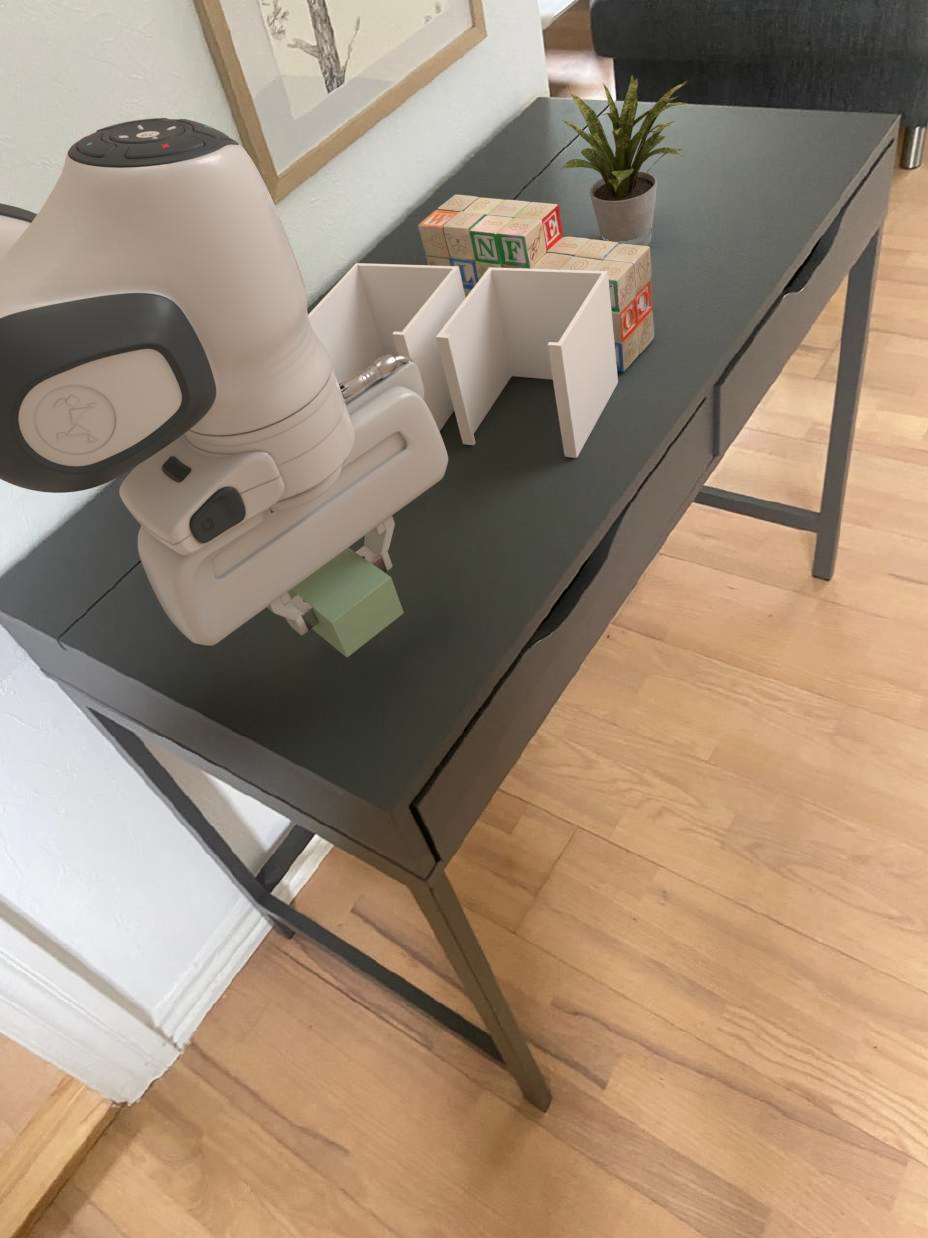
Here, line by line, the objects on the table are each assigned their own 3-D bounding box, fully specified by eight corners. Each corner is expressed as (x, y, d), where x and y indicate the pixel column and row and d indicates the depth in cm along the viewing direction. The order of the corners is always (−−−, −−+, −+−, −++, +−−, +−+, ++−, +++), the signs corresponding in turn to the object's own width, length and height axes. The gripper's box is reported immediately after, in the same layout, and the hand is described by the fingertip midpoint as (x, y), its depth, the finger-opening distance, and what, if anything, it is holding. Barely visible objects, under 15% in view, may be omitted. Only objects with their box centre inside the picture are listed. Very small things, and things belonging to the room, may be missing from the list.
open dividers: (618, 382, 84) (607, 271, 76) (576, 458, 78) (560, 345, 70) (386, 362, 95) (356, 262, 87) (334, 428, 89) (296, 327, 81)
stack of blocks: (656, 338, 88) (649, 212, 79) (624, 374, 85) (613, 248, 76) (478, 305, 99) (454, 191, 90) (444, 336, 96) (415, 221, 87)
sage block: (347, 658, 60) (331, 622, 57) (277, 600, 65) (260, 566, 62) (404, 613, 62) (391, 577, 59) (332, 560, 67) (317, 525, 64)
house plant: (709, 265, 94) (709, 95, 83) (575, 290, 96) (556, 128, 85) (687, 205, 104) (684, 45, 92) (566, 229, 106) (547, 75, 94)
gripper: (378, 325, 57) (426, 495, 67) (91, 506, 50) (194, 665, 60) (443, 355, 53) (485, 530, 63) (144, 554, 46) (244, 716, 56)
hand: (341, 597), depth 61 cm, fingers closed on sage block, 5 cm apart
